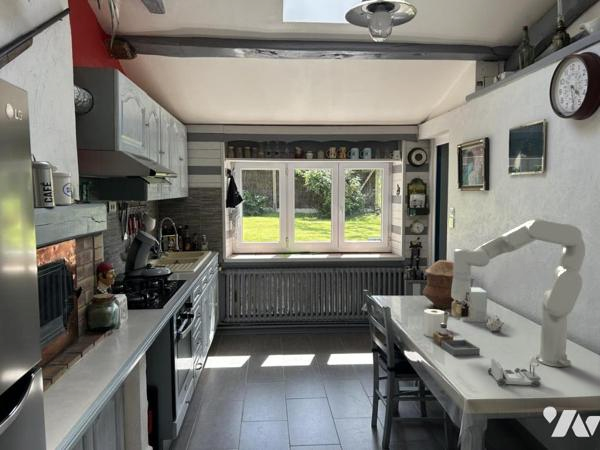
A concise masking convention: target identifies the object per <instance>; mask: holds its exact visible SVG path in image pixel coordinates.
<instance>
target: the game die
mask: <svg viewBox="0 0 600 450" xmlns="http://www.w3.org/2000/svg"><path fill="white" fill-rule="evenodd" d="M487 316H488V315H487ZM503 324H504V322H502V321H501V320H500V318H499V317H497V315H495V317H493V316H492V317H491V316H488V319H487V321H486V324H484V326H486V327H487V328H488V329H489V331H491V333H494V332H501V329H502V328H501V327H502V326H503Z"/></svg>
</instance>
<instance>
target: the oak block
mask: <svg viewBox="0 0 600 450" xmlns="http://www.w3.org/2000/svg"><path fill="white" fill-rule="evenodd" d="M465 304H466V303H464V305H465ZM461 308H462V302H452V306H451V316H453V317H455V318H457V319H460V318H470V314H471V305H470V306H469V313H468V317H462V316H461Z"/></svg>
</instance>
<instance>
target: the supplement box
mask: <svg viewBox="0 0 600 450" xmlns="http://www.w3.org/2000/svg"><path fill="white" fill-rule="evenodd" d="M464 301H465V300H464ZM471 302H472V303H471V304H470V305H471V314H470V318H459V319H460V320H461V321H462V322H469V323H471V322H472V323H474V322H475V323H487V316H488V315H487V310H488V309H487V308H488V307H487V306H488V292H487V291H486V290H484V289H483V288H482V287H474V286H471Z"/></svg>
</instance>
